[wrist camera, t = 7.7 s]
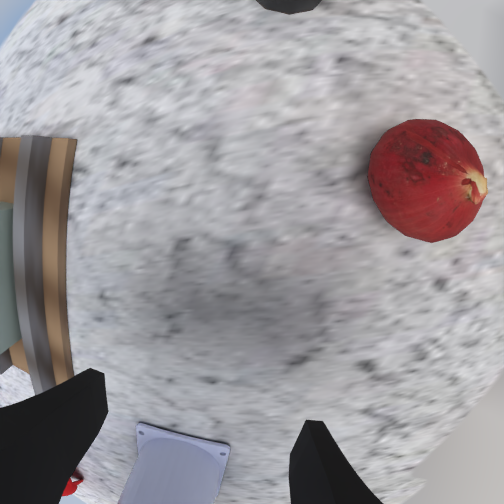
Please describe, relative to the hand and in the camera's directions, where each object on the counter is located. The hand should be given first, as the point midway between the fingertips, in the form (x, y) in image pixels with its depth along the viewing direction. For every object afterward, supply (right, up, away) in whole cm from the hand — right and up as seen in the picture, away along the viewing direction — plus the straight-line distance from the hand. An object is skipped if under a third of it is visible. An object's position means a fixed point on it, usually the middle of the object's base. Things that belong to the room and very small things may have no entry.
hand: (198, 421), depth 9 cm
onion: (+10, +10, +7) cm, 16 cm away
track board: (-16, +5, +10) cm, 19 cm away
